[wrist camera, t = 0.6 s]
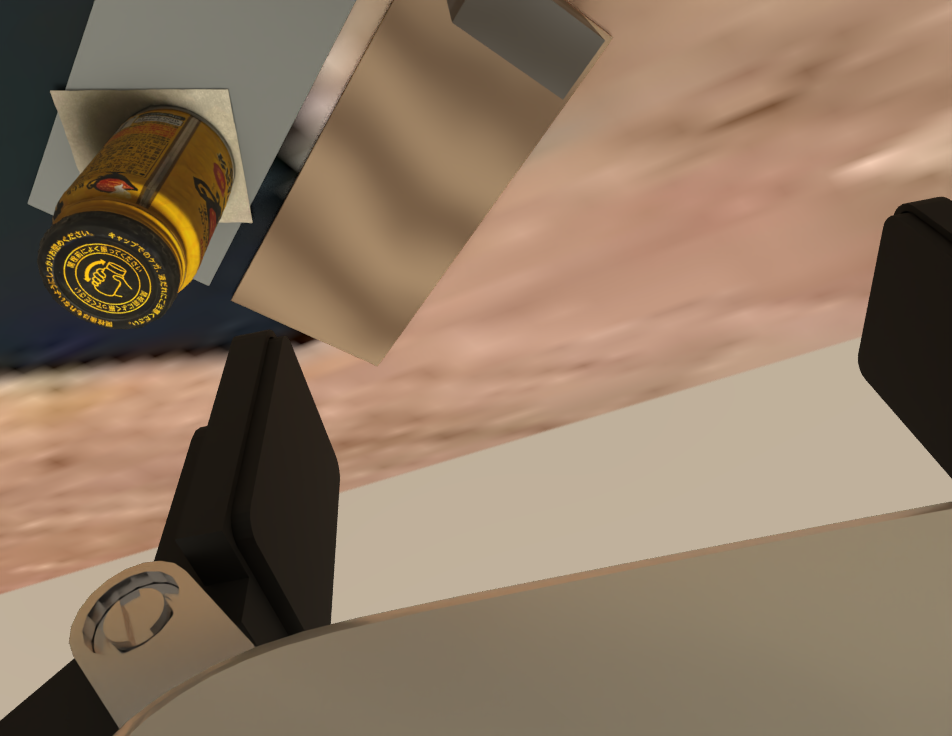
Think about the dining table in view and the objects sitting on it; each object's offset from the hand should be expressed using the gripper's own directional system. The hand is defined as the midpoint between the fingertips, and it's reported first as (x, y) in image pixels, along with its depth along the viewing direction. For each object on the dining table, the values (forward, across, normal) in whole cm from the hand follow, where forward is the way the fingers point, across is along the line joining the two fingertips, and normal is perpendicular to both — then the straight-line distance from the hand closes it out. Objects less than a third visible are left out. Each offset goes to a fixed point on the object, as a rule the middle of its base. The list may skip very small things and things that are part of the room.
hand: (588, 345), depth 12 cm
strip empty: (+30, +4, +9) cm, 31 cm away
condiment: (+30, +16, +5) cm, 34 cm away
